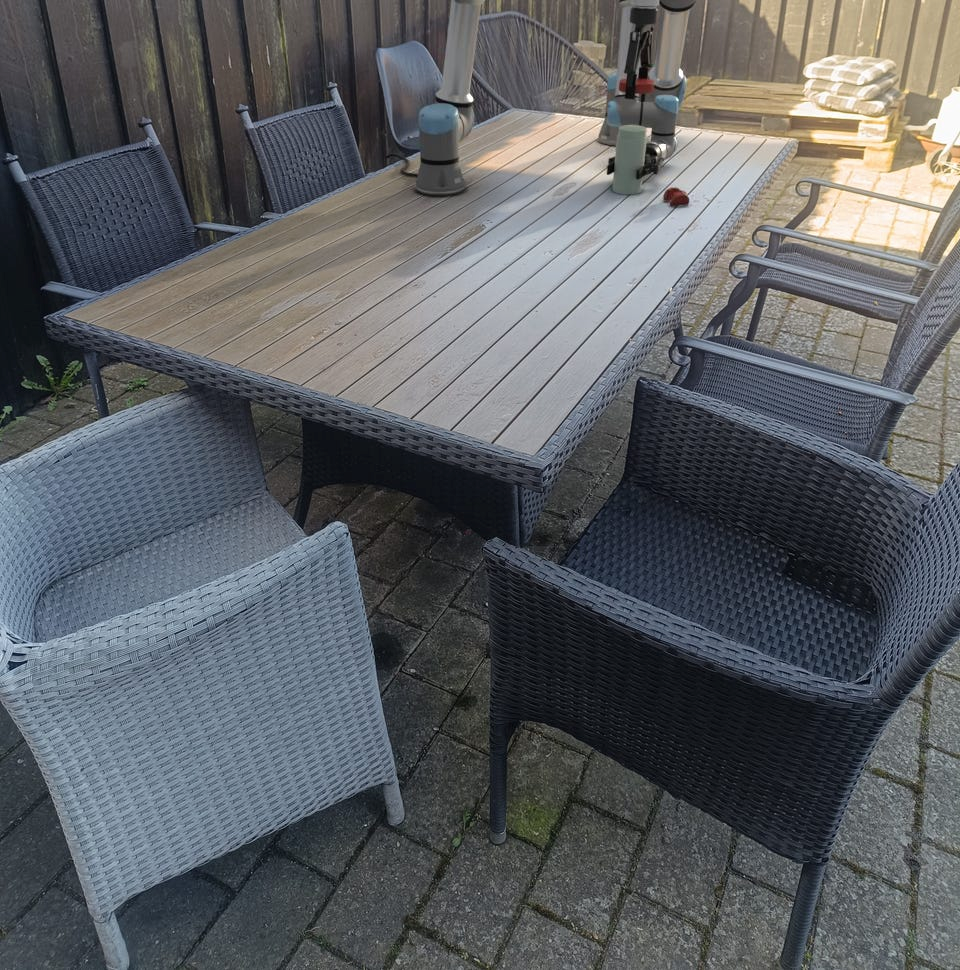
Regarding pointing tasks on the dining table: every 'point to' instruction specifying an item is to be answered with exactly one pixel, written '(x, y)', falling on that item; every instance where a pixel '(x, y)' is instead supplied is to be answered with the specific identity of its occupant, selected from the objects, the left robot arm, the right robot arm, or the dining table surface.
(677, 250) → the dining table surface
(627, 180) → the jar
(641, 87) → the lid
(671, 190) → the dental model
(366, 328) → the dining table surface
